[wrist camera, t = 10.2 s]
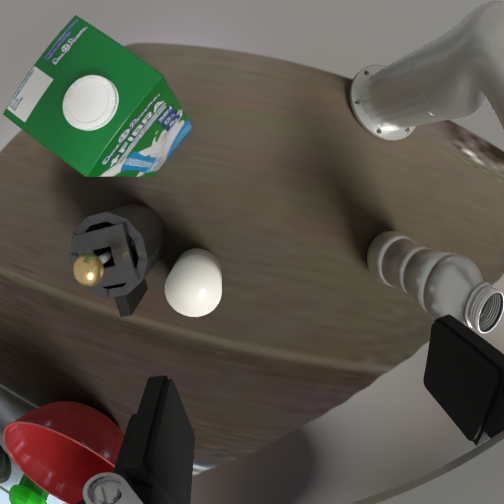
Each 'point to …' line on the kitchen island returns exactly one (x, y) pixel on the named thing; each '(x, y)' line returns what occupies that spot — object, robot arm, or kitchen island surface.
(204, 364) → the kitchen island surface
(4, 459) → the squash
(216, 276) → the white egg shape
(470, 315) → the plastic bottle
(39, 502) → the plastic bottle
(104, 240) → the carafe
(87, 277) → the plunger
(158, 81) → the milk carton
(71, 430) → the mixing bowl
